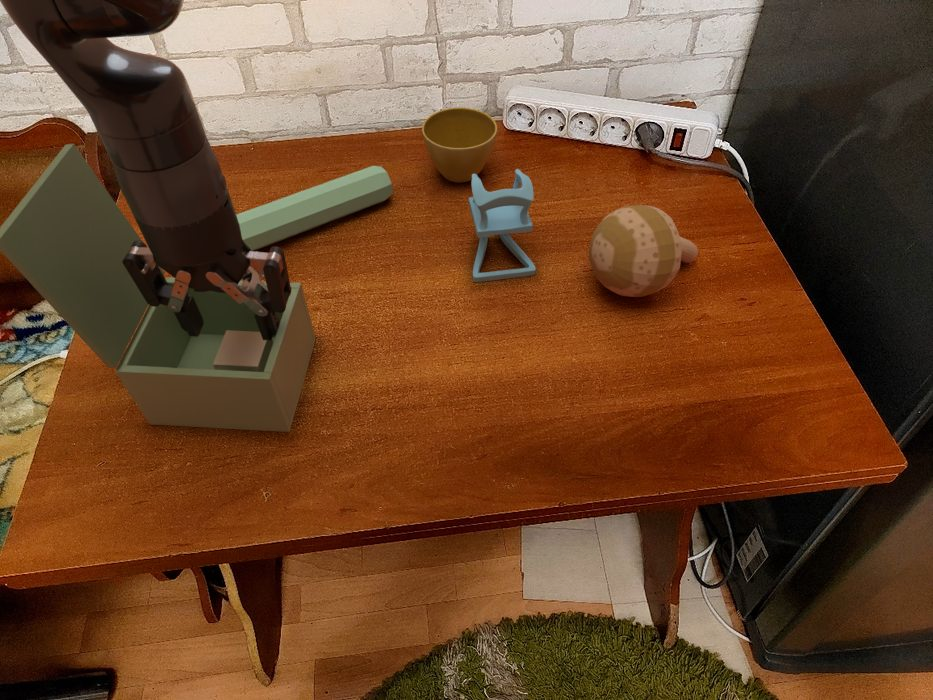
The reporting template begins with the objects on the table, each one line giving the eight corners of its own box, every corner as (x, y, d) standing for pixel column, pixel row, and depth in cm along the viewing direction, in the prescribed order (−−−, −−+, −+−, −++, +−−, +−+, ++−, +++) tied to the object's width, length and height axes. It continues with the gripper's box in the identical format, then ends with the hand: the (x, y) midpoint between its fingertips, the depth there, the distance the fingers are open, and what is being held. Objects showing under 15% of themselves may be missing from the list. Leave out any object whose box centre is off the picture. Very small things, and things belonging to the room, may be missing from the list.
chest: (316, 338, 77) (300, 282, 70) (289, 432, 69) (269, 379, 62) (190, 332, 78) (163, 276, 71) (149, 424, 70) (114, 371, 63)
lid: (73, 143, 59) (65, 144, 59) (-1, 238, 51) (-11, 239, 51) (165, 273, 71) (157, 273, 71) (116, 367, 63) (108, 368, 63)
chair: (522, 231, 89) (527, 151, 79) (536, 275, 83) (543, 195, 74) (463, 238, 88) (461, 158, 79) (473, 283, 83) (473, 202, 73)
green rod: (380, 149, 90) (195, 213, 81) (402, 184, 89) (216, 253, 80) (376, 175, 96) (202, 239, 87) (396, 209, 94) (222, 277, 85)
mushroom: (736, 262, 80) (671, 243, 69) (671, 321, 85) (601, 312, 75) (685, 201, 85) (617, 175, 74) (626, 261, 90) (556, 244, 80)
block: (225, 392, 71) (212, 364, 68) (237, 358, 74) (226, 330, 71) (268, 394, 71) (257, 366, 68) (279, 360, 74) (269, 332, 71)
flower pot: (509, 165, 98) (510, 120, 93) (472, 202, 93) (471, 157, 87) (450, 144, 102) (448, 100, 96) (411, 179, 96) (407, 134, 91)
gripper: (70, 220, 53) (149, 357, 65) (253, 227, 52) (296, 365, 65) (110, 163, 58) (176, 301, 70) (277, 169, 57) (314, 308, 69)
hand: (233, 331), depth 67 cm, fingers open, 6 cm apart
